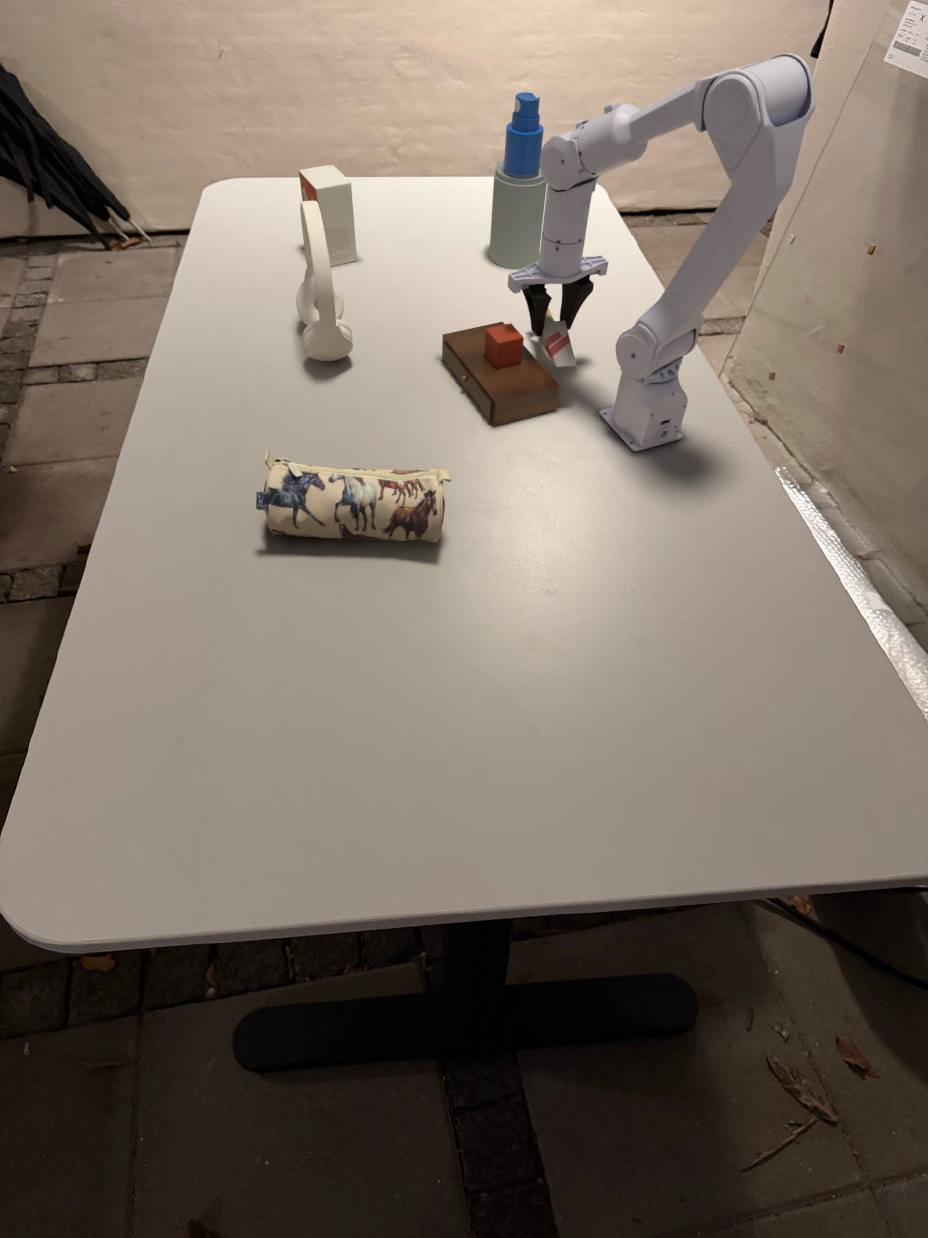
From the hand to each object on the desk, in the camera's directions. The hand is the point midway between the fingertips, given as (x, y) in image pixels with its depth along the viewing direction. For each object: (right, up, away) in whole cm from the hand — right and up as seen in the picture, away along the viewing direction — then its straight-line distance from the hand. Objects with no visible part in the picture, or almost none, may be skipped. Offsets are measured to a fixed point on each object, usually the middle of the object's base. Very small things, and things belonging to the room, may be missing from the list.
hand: (551, 329), depth 112 cm
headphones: (-34, 0, +7) cm, 35 cm away
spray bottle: (-4, +23, +27) cm, 35 cm away
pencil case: (-25, -31, -18) cm, 44 cm away
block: (-7, -5, -1) cm, 9 cm away
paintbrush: (0, -1, +1) cm, 2 cm away
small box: (-36, +22, +25) cm, 49 cm away
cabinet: (-8, -7, +2) cm, 11 cm away
